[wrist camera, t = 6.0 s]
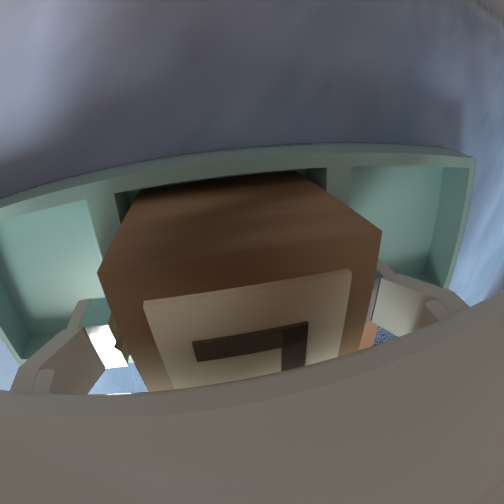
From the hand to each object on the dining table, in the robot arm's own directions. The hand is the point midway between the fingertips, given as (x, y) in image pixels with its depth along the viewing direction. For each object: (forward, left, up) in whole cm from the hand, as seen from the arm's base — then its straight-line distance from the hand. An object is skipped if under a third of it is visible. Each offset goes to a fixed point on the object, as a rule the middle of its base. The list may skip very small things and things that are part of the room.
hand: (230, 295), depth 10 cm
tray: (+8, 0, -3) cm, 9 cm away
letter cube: (0, 0, -3) cm, 3 cm away
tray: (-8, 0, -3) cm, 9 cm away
